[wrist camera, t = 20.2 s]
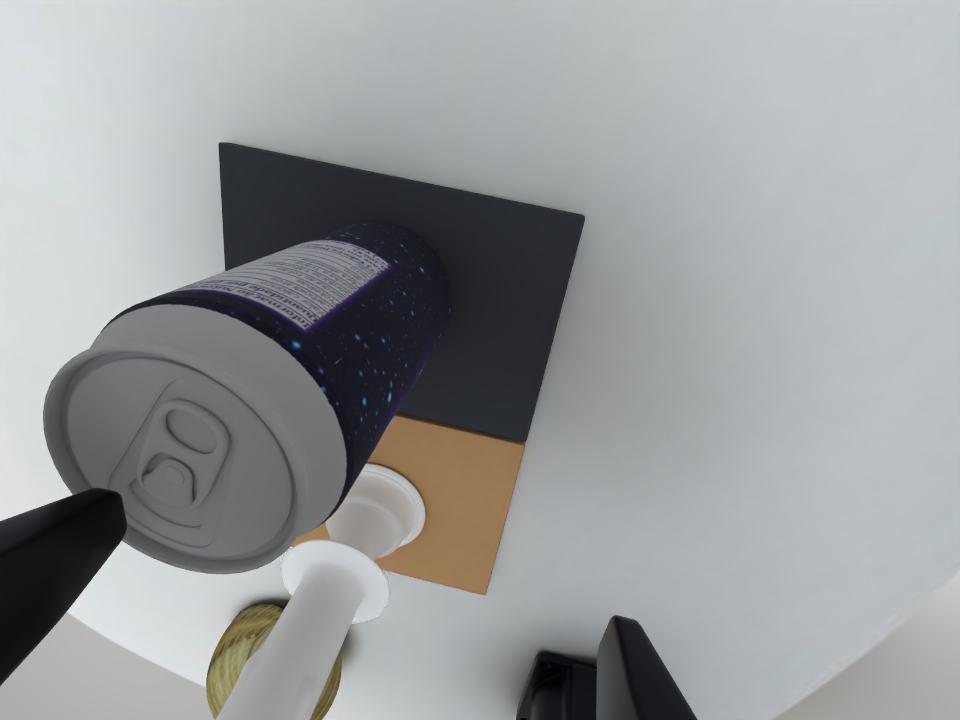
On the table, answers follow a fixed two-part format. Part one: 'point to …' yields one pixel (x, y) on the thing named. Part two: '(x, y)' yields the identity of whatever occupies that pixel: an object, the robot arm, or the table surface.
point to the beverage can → (250, 395)
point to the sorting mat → (462, 349)
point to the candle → (328, 598)
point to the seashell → (241, 645)
